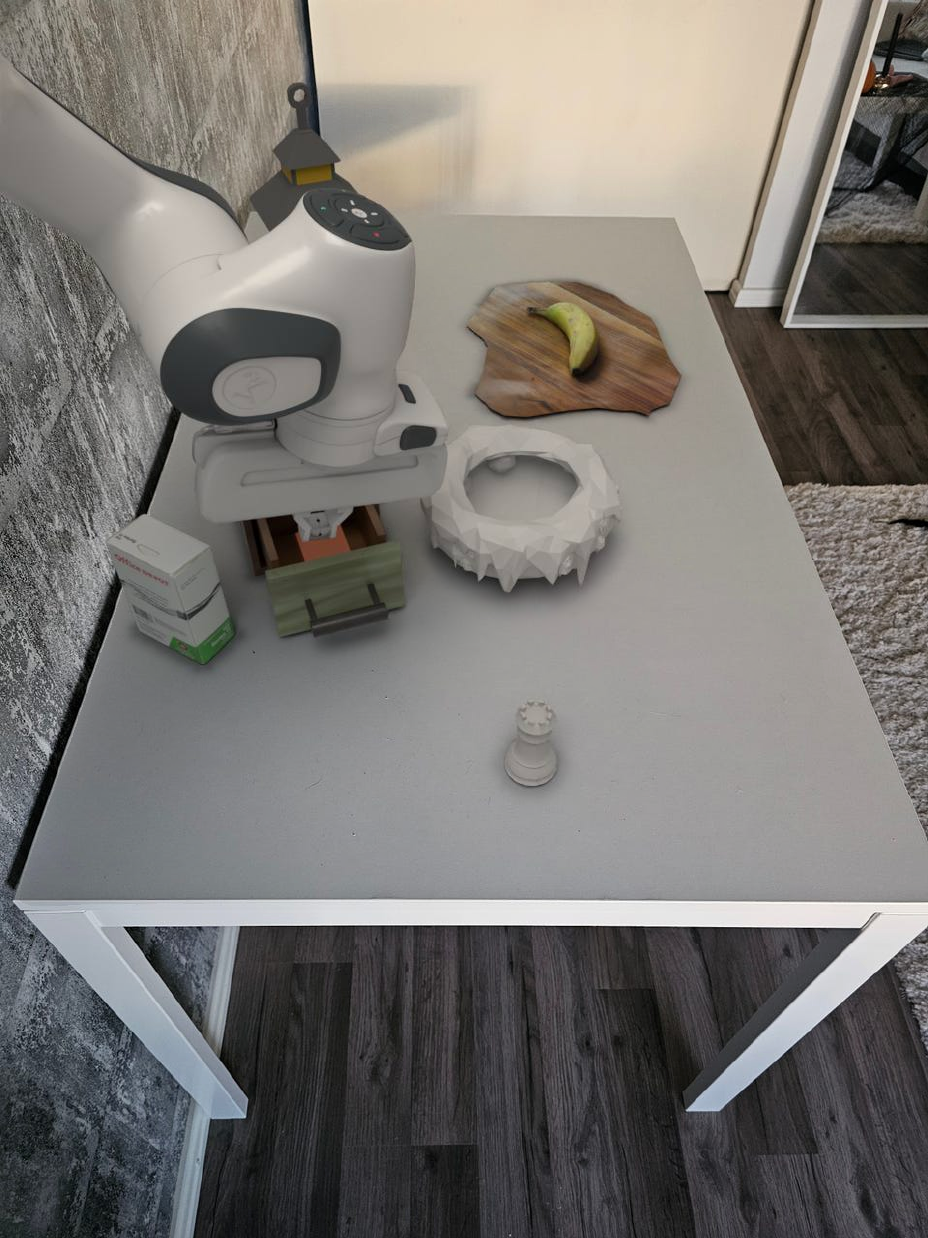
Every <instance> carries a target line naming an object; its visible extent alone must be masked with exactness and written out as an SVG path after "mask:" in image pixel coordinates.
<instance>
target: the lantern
mask: <svg viewBox="0 0 928 1238" xmlns="http://www.w3.org/2000/svg"><path fill="white" fill-rule="evenodd" d="M299 90H302V91H303V92H304V95H303V98H302V99H301V100H300V101H299V100H296V99H295V95H296V92H297V91H299ZM286 95H287V102H288V103H289V105H290V107H291V108H292V109H295V113H296V123H297V127H295V128H292V129H291V130H290V131H289V132H288V133H287V135H285V137H283V139H282V140H281V141H280V142H279V143H278V144H277V145H276V146H275V147H274V148H273V149H272V153H273V154H274V156H275V157H276V158H277V160H278V161H279V163H280V170H279V171H278V172H277V173H275V174H274V175H273V176H272V177H270V178H269V179H268V180H267V181H266V182H265V183H263V185H261V186H260V187H258V189H257V190H255V191H254V192H253V193H252V194H250V196H249V197H248V200H249V202H250V204H251V205H252V207H253V208H254V210H255V212H256V214H258V216H259V218H260V220H261V221H262V223H263V224H264V226H265V227H266V229H267V231H268V233H269V232H270V231H272V230H273V229H274V228H275V227H277V226H278V225H279V224H280V223H282V222H283V221H284V220H285V219H286V218H287V217H288V216H289V215H290V214H291V213H292V211H293V210H294V209H295V207H296V205H297V204H298V202H299V200H300V199H301V197H302V196H303V195H304V194H305V193H307V192H308V191H311V190H314V189H319V188H337V189H343V190H348V191H351V192H355V193H358V191H357V189H356V188H355V187H354V186H353V185H352V183H350V182H349V181H348V180H346V179H345V178H344V177H343V176H341V175H340V174H338V173H337V172H336V167H335V166H336V165H335V164H337V163H340V162H341V158H340V157H339V156H338V155H337V153H336V152H335V151H334V149H332V147H331V146H330V145H329V144H328V143H327V142H326V141H325V140H324V139H323V138H322V137H321V136H320V135H319V134H318V133H316V131H314V129H313V128H311V127H310V126H309V124H308V115H307V114H308V113H307V108H309V107H311V105H312V102H313V101H312V100H313V99H312V91H311V89H310V87H309V86H308V85H307V84H306V83H304V82H302V81H299V82H293V83H291V84H290V85H288V87H287V89H286Z"/></svg>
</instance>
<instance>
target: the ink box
mask: <svg viewBox="0 0 928 1238" xmlns="http://www.w3.org/2000/svg"><path fill="white" fill-rule="evenodd" d="M105 545H106V548H107V551H108V553H109V556H110V558H111V561H112V564H113V566H114V569H115V572H116V574H117V576H118V579H119V582H120V584H121V587H122V589H123V590H122V591H123V592H124V595H125V598H126V600H127V603H128V606H129V608H130V611H131V613H132V616H133V619H134V621H135V624H136V626H137V629H138V631H139V632H140V633H142V634H144V635H145V636H148V637H150V638H151V639H153V640H155V641H157V642H159V643H161V644H162V645H164V646H166V647H168V648H170V649H172V650H174V651H176V652H177V653H179V654H181V655H183V656H185V657H186V658H188V659H190V660H192V661H194V662H196V663H198V664H200V665H206V664H207V663H208V662H209V661H210V660H211V659H212V658H213V657H214V656H215V655H216V654H218V652H220V651H221V650H222V649H223V648H224V647H225V646H226V645H227V644H228V643H229V642H230V641H231V640H232V638H234V636H235V634H236V633H235V629H234V625H233V622H232V619H231V615H230V612H229V609H228V604H227V601H226V597H225V593H224V591H223V587H222V584H221V580H220V576H219V572H218V569H217V565H216V561H215V559H214V555H213V551H212V547H211V545H210V544H207V543H205V542H203V541H201V540H199V539H198V538H195V537H193V536H191V535H190V534H187V533H185V532H182V531H181V530H179V529H177V528H175V527H173V526H171V525H169V524H166V523H164V522H163V521H161V520H159V519H157V518H155V517H153V516H150V515H148V514H146V513H143V514H141V515H140V516H138V517H137V518H135V519H133V520H132V521H131V522H129V523H128V524H126V525H124V526H123V527H121V528H120V529H119V530H117V531H116V532H115V533H113V534H112V535H111V536H109V537H108V538H106V539H105Z"/></svg>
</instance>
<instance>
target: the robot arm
mask: <svg viewBox="0 0 928 1238" xmlns="http://www.w3.org/2000/svg"><path fill="white" fill-rule="evenodd" d="M0 196H2V197H4V198H5V199H7V200H9V202H12V203H14V204H15V205H17V206H18V207H20V208H22V209H23V210H25V211H27V212H28V213H30V214H32V215H33V216H34V217H36V218H38V219H39V220H41V221H43V222H44V223H46V224H47V225H49V226H51V227H53V228H54V229H56V230H57V231H59V232H61V233H62V234H64V235H66V236H67V237H69V238H71V239H72V240H74V241H75V242H77V244H78V245H80V247H82V248H83V249H84V250H85V251H86V253H87V254H88V255H89V256H90V258H92V261H93V262H94V264H95V266H96V267H97V269H98V271H99V272H100V274H101V276H102V278H103V279H104V281H105V283H106V284H107V286H108V288H109V289H110V292H112V294H113V296H115V298H116V299H117V302H118V303H119V305H120V308H121V309H122V311H123V313H124V315H125V317H126V319H127V321H128V323H129V325H130V327H131V329H132V331H133V333H134V335H135V337H136V339H137V341H138V343H139V345H140V347H141V349H142V351H143V354H144V356H145V358H146V359H147V362H148V364H149V366H150V368H151V369H152V371H153V373H154V375H155V377H156V379H157V381H158V383H159V385H160V387H161V389H162V390H163V393H164V395H165V396H166V398H167V399H168V401H169V402H170V404H171V405H172V406H173V407H174V408H175V409H176V410H177V411H179V412H180V413H182V414H183V415H185V416H186V417H188V418H190V419H192V420H195V421H197V422H199V423H204V424H208V425H206V426H203V427H202V428H200V429H199V430H197V431H196V432H194V434H193V437H192V441H191V454H192V455H191V456H192V460H193V462H194V463H195V465H196V466H195V474H194V494H195V498H196V502H197V505H198V508H199V511H200V514H201V516H202V517H203V518H204V519H206V520H207V521H208V522H209V523H211V524H214V525H215V524H217V525H218V524H226V523H235V522H240V521H242V520H250V519H258V518H267V517H275V516H283V515H291V514H292V515H293V518H294V520H295V521H296V522H297V523H298V530H299V534H300V537H301V540H302V542H306V541H312V540H320V539H328V538H335V537H336V532H337V526H339V525H340V524H341V523H342V522H343V521H344V520H345V519H346V518H347V517H348V516H349V515H350V514H351V513H352V512H353V507H355V506H363V505H371V504H379V505H380V504H386V503H387V504H388V503H394V502H401V501H402V502H403V501H409V500H418V499H419V500H420V498H428V497H431V496H432V495H433V494H435V493H436V492H437V491H438V490H439V489H440V488H441V487H442V484H443V481H444V477H445V472H446V467H447V458H448V451H447V445H446V443H445V442H446V441H447V439H448V436H449V432H450V427H449V424H448V421H447V418H446V416H445V414H444V411H443V409H442V407H441V405H440V402H439V401H438V399H437V397H436V395H435V394H434V393H433V390H432V389H431V387H430V386H429V385H428V383H427V382H426V380H425V379H424V378H423V377H422V376H421V375H419V374H416V373H412V372H407V371H403V370H398V369H397V363H398V361H399V360H400V358H401V357H402V356H403V355H402V354H403V353H404V350H405V348H406V344H407V340H408V336H409V330H410V325H411V320H412V313H413V306H414V297H415V288H416V251H415V245H414V242H413V240H412V237H411V236H410V235H409V233H408V231H407V230H406V228H405V227H404V226H403V224H402V223H401V222H400V221H399V220H398V219H397V218H396V216H394V215H393V213H391V212H390V211H389V210H388V209H387V208H386V207H385V206H383V205H382V204H380V203H379V202H376V201H374V200H372V199H370V198H368V197H367V196H366V195H363V194H360V193H359V192H357V193H355V192H351V191H348V190H343V189H337V188H319V189H314V190H311V191H308V192H307V193H305V194H304V195H303V196H302V197H301V199H300V200H299V202H298V204H297V205H296V207H295V209H294V210H293V211H292V213H291V214H290V215H289V216H288V217H287V218H286V219H285V220H284V221H283V222H282V223H280V224H279V225H278V226H277V227H275V228H274V229H273V230H272V231H270V232H269V231H268V233H266V234H265V235H263V236H261V237H260V238H258V239H256V240H254V241H253V242H252V243H250V241H249V239H248V237H247V235H246V233H245V231H244V228H243V227H242V225H241V223H240V221H239V219H238V217H237V215H236V214H235V211H234V210H233V208H232V207H231V205H230V204H229V202H228V201H227V200H226V199H225V197H223V195H221V193H220V192H218V191H217V190H216V189H215V188H213V187H212V186H210V185H208V184H207V183H205V182H204V181H202V180H200V179H197V178H195V177H193V176H190V175H187V174H184V173H182V172H178V171H174V170H171V169H169V168H165V167H161V166H158V165H155V164H152V163H150V162H147V161H145V160H142V159H140V158H138V157H136V156H134V155H132V154H130V153H129V152H127V151H125V150H124V149H122V148H121V147H119V146H118V145H117V144H115V143H114V142H113V141H111V139H109V138H107V137H106V136H104V135H103V134H102V133H101V132H100V131H98V130H97V129H96V128H94V127H93V126H92V125H90V124H89V122H86V121H85V120H84V119H83V118H81V117H80V116H79V115H78V114H77V113H75V112H73V110H71V109H69V107H67V106H66V105H64V104H63V103H62V102H61V101H59V100H58V99H57V98H56V97H54V96H53V95H51V94H50V93H49V92H48V91H47V90H46V89H44V88H42V87H41V86H40V85H39V84H37V83H36V82H35V81H33V80H32V79H31V78H30V77H28V76H27V75H26V74H25V73H23V72H22V71H20V70H19V69H18V68H16V67H15V66H14V65H12V64H11V63H10V61H8V60H7V59H6V57H5V56H3V54H1V53H0ZM323 510H325V512H320V513H313V514H311V512H315V511H323Z"/></svg>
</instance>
